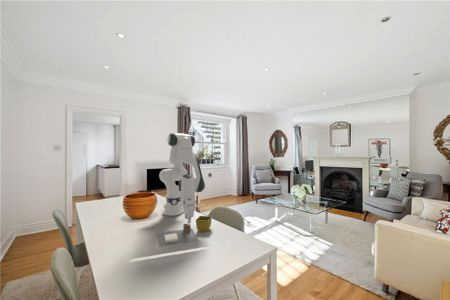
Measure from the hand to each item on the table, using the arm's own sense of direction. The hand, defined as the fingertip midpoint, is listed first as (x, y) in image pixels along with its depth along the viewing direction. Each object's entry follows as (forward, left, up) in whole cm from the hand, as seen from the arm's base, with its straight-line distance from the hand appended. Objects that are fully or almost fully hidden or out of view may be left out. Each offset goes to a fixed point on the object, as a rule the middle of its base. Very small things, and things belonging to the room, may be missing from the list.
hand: (187, 220), depth 130 cm
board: (+6, -7, -8) cm, 13 cm away
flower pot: (+1, +11, -8) cm, 14 cm away
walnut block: (-1, 0, -7) cm, 7 cm away
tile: (+5, -11, -6) cm, 14 cm away
